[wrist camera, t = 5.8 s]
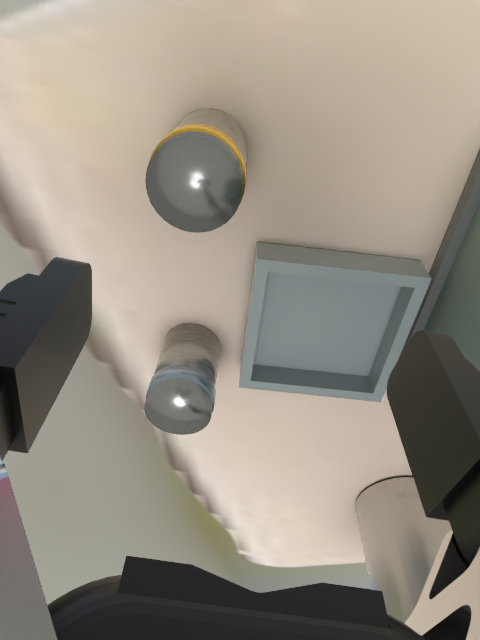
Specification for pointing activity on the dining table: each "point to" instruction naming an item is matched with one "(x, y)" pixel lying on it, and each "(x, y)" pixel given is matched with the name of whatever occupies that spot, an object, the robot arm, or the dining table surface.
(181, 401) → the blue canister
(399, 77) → the dining table surface
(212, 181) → the grey gold-banded metal jar
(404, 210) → the dining table surface
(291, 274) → the tray
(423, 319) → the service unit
